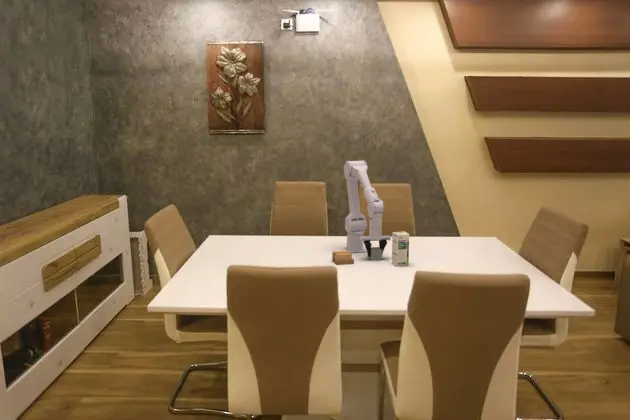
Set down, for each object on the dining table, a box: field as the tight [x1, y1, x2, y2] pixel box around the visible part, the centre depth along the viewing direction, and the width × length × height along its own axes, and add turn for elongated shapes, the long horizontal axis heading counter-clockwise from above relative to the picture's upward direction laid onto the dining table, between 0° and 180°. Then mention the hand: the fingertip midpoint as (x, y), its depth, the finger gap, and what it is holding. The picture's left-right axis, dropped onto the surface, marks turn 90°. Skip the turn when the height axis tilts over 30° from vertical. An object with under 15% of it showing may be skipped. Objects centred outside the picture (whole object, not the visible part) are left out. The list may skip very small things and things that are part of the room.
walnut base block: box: [331, 256, 355, 266], centre depth 245 cm, size 8×8×2 cm
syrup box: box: [391, 231, 410, 267], centre depth 241 cm, size 6×6×14 cm
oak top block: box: [331, 249, 353, 260], centre depth 245 cm, size 7×7×2 cm
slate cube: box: [367, 246, 383, 262], centre depth 250 cm, size 5×5×5 cm
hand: (374, 256), depth 251 cm, fingers closed on slate cube, 5 cm apart
